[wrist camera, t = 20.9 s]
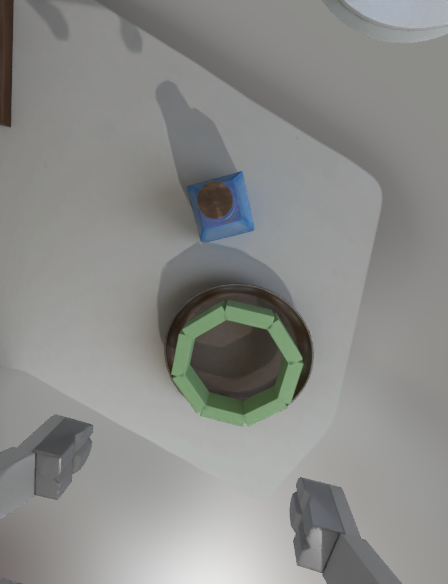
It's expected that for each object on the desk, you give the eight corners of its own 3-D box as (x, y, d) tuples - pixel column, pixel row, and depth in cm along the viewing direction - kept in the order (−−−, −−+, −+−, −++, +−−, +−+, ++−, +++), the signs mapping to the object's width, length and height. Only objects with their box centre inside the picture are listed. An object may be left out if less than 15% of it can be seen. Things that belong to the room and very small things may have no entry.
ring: (309, 318, 32) (315, 326, 29) (277, 420, 36) (279, 436, 33) (191, 290, 33) (186, 295, 30) (171, 393, 36) (164, 407, 33)
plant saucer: (234, 430, 41) (233, 447, 37) (143, 342, 39) (134, 351, 35) (337, 352, 36) (346, 364, 33) (240, 249, 34) (240, 250, 31)
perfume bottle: (242, 183, 33) (241, 153, 21) (252, 230, 34) (256, 227, 22) (197, 195, 33) (171, 173, 22) (208, 241, 35) (190, 243, 23)
